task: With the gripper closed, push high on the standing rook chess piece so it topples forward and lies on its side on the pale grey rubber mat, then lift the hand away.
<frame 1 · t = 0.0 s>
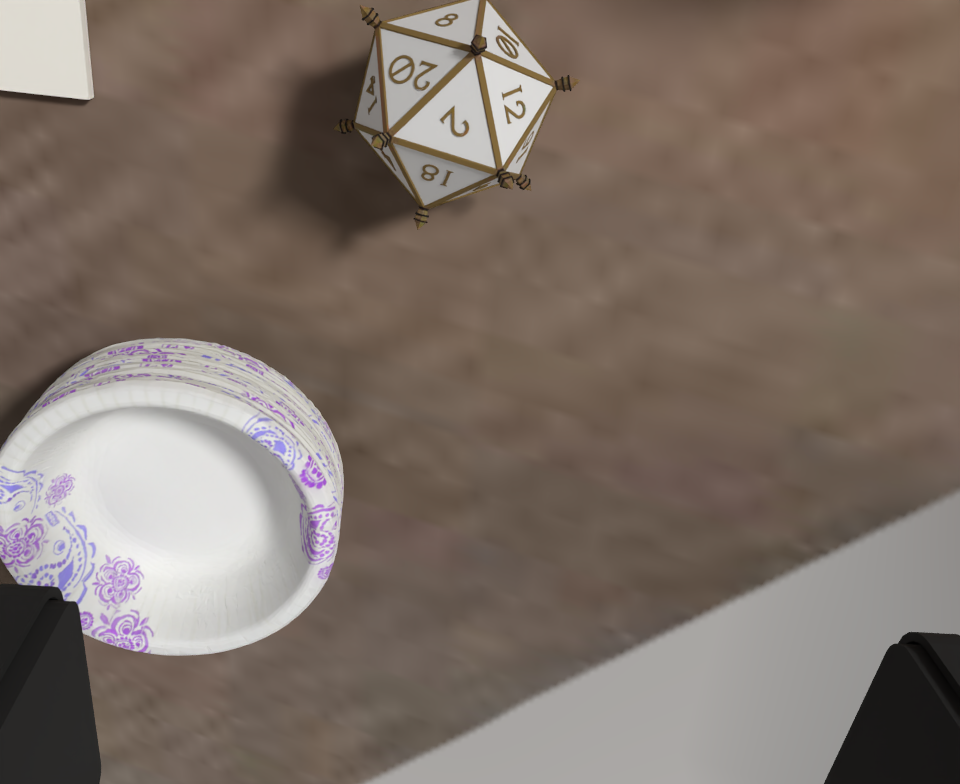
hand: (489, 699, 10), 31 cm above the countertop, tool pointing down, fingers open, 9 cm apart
game die: (450, 88, 36), on the countertop
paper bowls: (206, 440, 44), on the countertop
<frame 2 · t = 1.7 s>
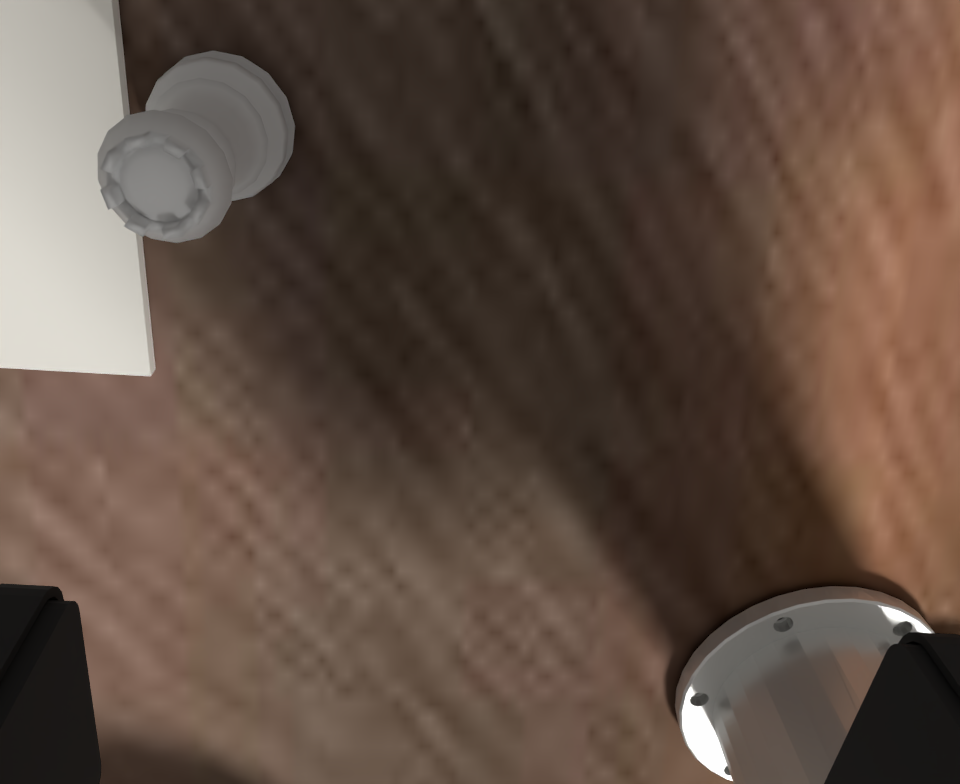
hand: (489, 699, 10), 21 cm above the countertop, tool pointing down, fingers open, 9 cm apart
rook chess piece: (228, 122, 27), on the countertop
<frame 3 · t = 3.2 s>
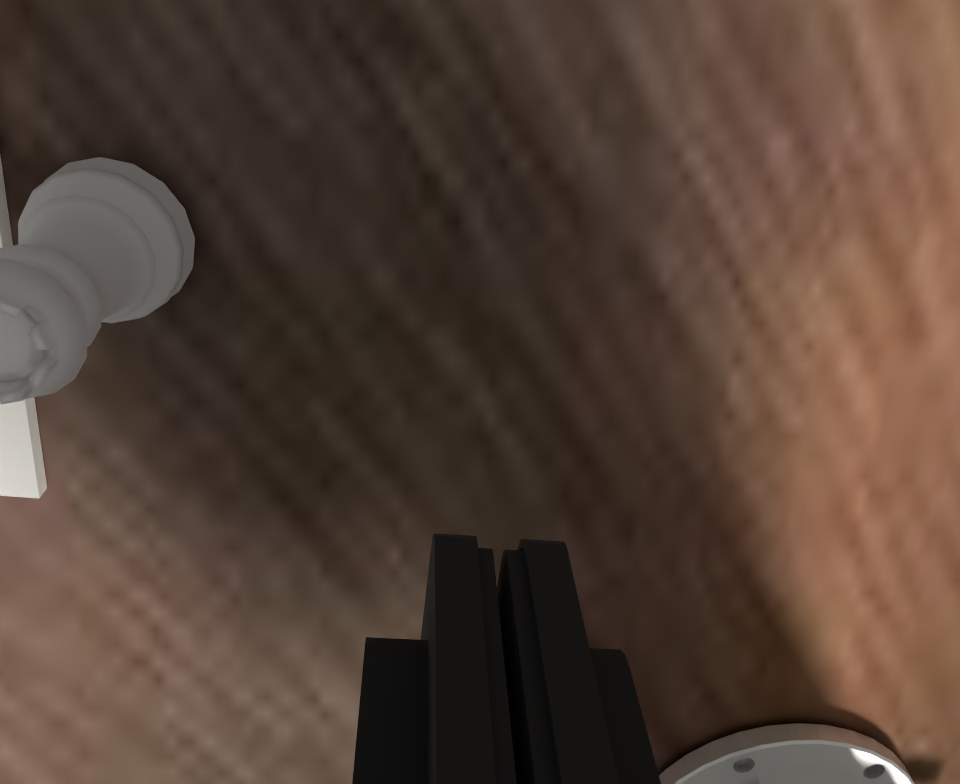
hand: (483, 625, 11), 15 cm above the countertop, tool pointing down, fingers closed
rook chess piece: (122, 230, 24), on the countertop
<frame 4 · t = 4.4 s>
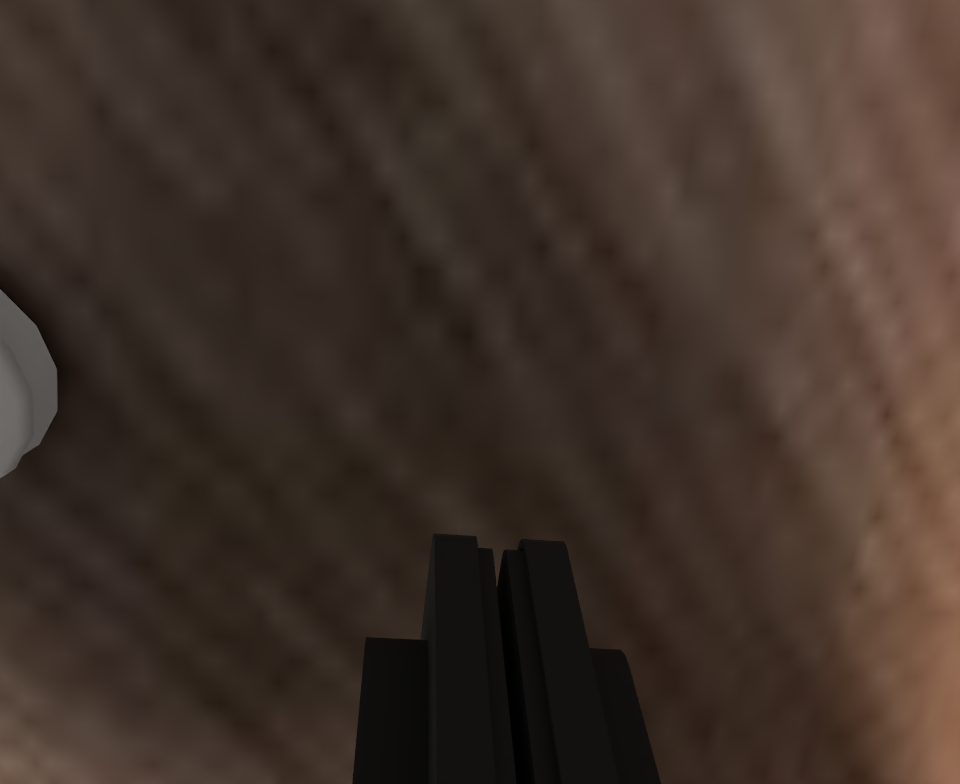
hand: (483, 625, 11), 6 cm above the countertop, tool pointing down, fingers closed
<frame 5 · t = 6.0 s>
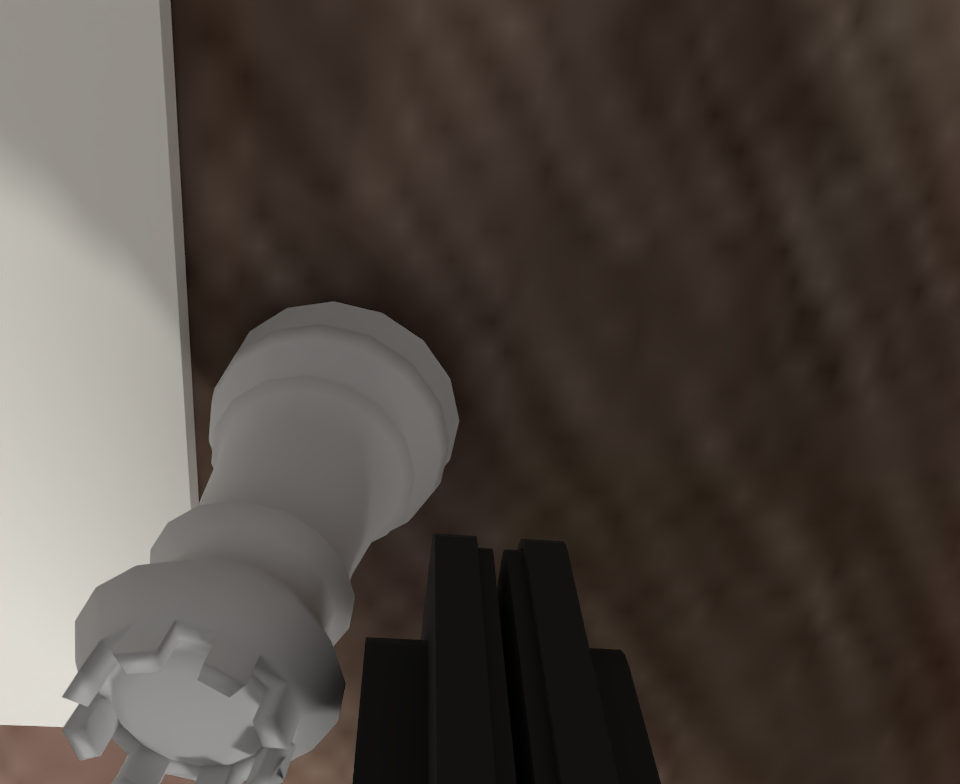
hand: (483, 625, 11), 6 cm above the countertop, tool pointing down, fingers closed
rook chess piece: (349, 397, 16), on the countertop, touching gripper
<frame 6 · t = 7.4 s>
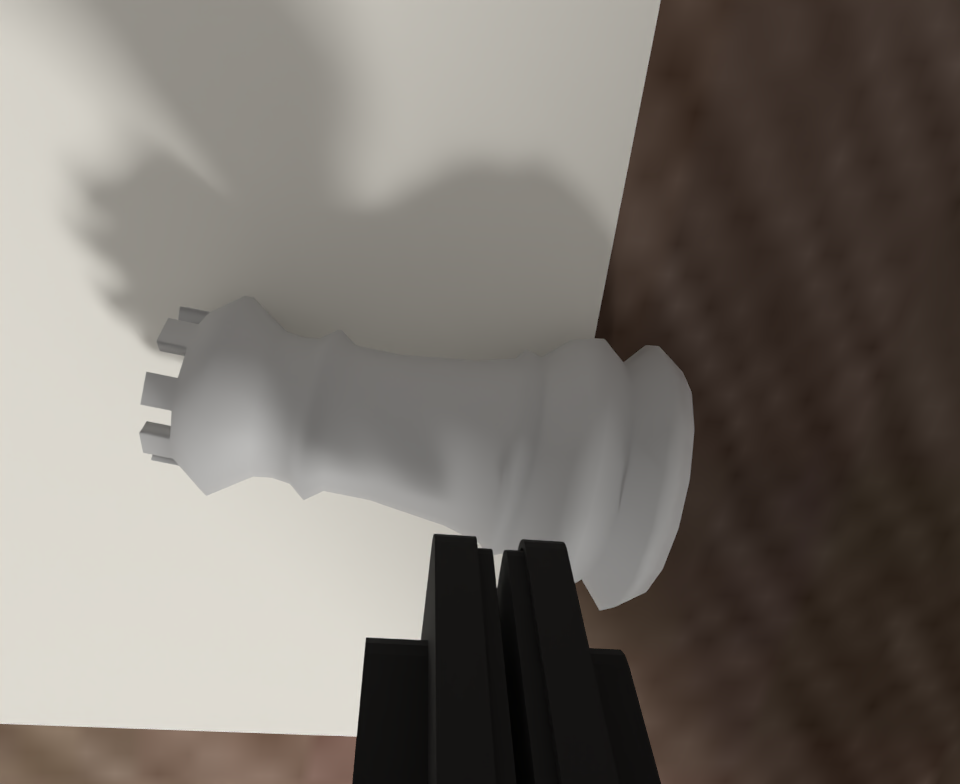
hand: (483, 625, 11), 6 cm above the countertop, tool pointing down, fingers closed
rook chess piece: (663, 483, 14), point 3 cm above the countertop, touching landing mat
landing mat: (155, 373, 16), on the countertop
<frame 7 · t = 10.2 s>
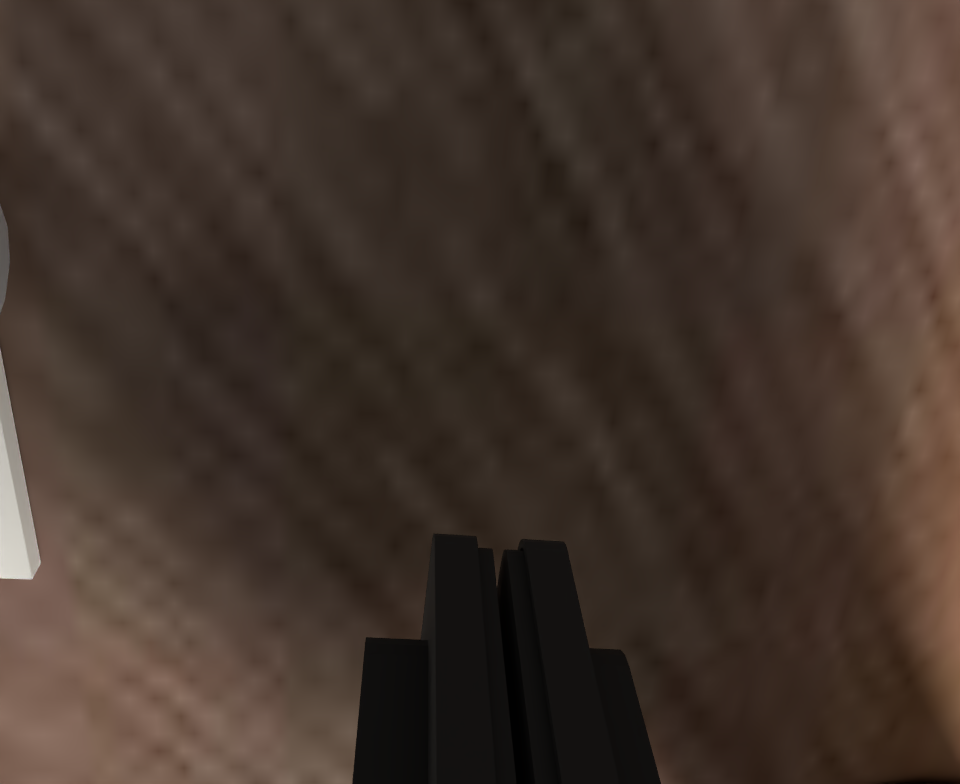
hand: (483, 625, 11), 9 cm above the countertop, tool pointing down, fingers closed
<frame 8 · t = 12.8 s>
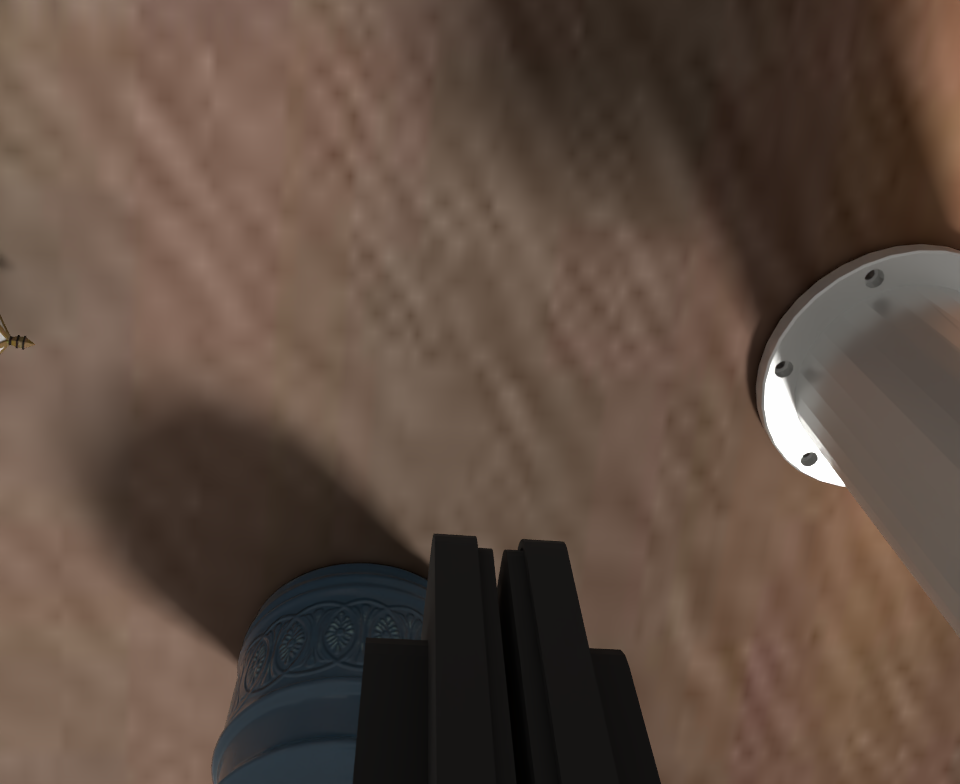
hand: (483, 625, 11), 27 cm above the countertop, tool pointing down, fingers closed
canister: (362, 643, 48), on the countertop
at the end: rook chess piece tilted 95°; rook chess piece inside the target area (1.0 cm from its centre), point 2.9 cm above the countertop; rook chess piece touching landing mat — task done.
